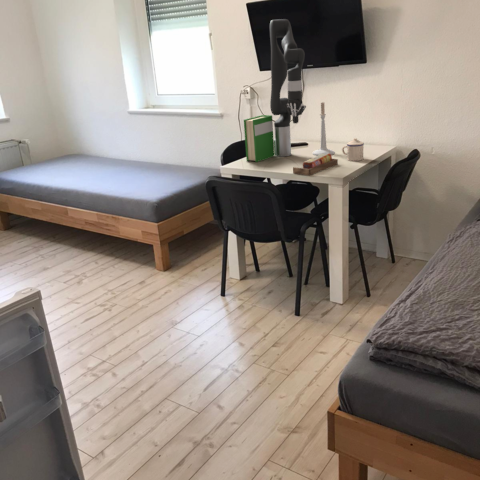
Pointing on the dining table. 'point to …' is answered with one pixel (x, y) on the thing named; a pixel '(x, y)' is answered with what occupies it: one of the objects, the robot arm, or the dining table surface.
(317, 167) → the walnut pocket
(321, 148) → the candlestick
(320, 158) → the snack package
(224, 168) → the dining table surface
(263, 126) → the hardback book
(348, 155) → the teacup with lid
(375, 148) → the dining table surface
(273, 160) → the dining table surface
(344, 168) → the dining table surface
